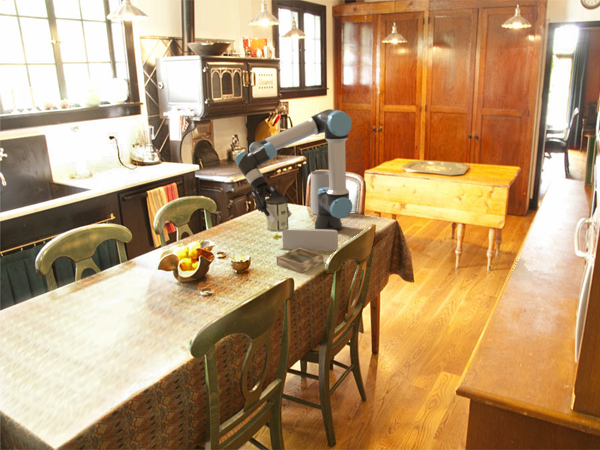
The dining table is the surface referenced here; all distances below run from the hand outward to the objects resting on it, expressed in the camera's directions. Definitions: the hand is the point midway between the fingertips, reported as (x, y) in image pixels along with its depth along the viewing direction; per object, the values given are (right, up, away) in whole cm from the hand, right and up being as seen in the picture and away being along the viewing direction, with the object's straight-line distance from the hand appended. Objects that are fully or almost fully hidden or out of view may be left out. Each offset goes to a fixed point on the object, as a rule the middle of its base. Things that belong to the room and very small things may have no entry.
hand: (281, 218), depth 224 cm
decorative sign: (+11, -15, +16) cm, 24 cm away
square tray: (+8, -21, -3) cm, 22 cm away
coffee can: (-2, -5, +4) cm, 6 cm away
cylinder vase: (+22, +4, +76) cm, 79 cm away
